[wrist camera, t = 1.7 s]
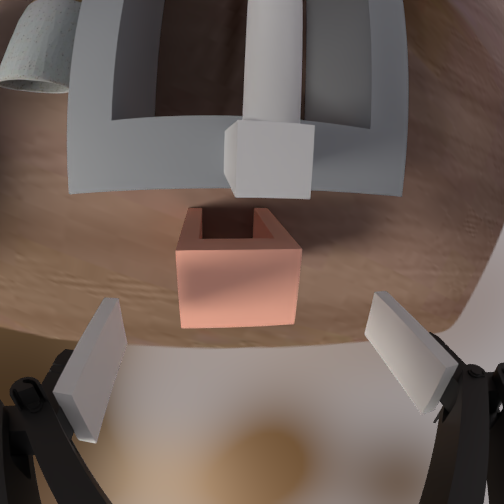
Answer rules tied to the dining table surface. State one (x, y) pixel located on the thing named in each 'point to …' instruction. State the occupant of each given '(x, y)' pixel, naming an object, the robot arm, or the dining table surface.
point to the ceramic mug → (42, 48)
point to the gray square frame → (245, 104)
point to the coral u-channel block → (237, 275)
